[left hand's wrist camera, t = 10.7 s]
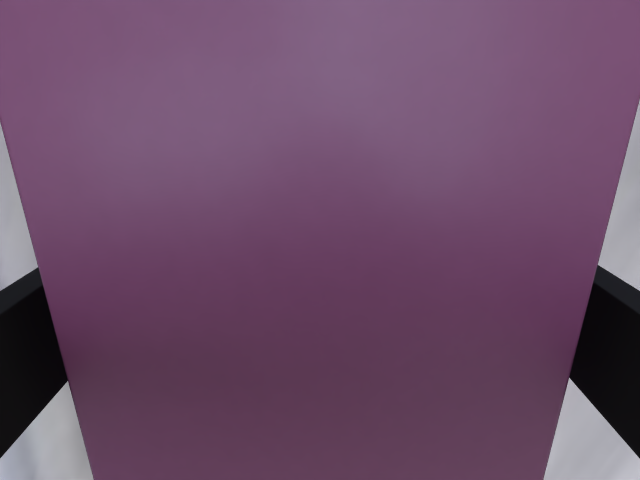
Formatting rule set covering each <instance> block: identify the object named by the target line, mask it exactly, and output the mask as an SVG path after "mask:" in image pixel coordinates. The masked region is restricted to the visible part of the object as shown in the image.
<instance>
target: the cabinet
mask: <svg viewBox="0 0 640 480" xmlns="http://www.w3.org/2000/svg"><path fill="white" fill-rule="evenodd" d="M639 99H640V0H0V122H1V126H2V130H3V133H4V137H5V141H6V145H7V149H8V153H9V156H10V160H11V164H12V168H13V172H14V176H15V179H16V183H17V187H18V191H19V195H20V199H21V202H22V206H23V210H24V214H25V218H26V221H27V225H28V229H29V233H30V237H31V241H32V244H33V248H34V252H35V256H36V260H37V264H38V267H39V271H40V275H41V279H42V283H43V287H44V290H45V294H46V298H47V302H48V306H49V310H50V313H51V317H52V321H53V325H54V329H55V333H56V336H57V340H58V344H59V348H60V352H61V355H62V359H63V363H64V367H65V371H66V375H67V378H68V382H69V386H70V390H71V394H72V398H73V401H74V405H75V409H76V413H77V417H78V421H79V424H80V428H81V432H82V436H83V440H84V444H85V447H86V451H87V455H88V459H89V463H90V467H91V470H92V474H93V478H94V480H543V478H544V474H545V470H546V466H547V462H548V458H549V454H550V450H551V447H552V443H553V439H554V435H555V431H556V427H557V423H558V419H559V415H560V411H561V407H562V403H563V399H564V395H565V391H566V387H567V383H568V379H569V376H570V372H571V368H572V364H573V360H574V356H575V352H576V348H577V344H578V340H579V336H580V332H581V328H582V324H583V320H584V316H585V312H586V308H587V305H588V301H589V297H590V293H591V289H592V285H593V281H594V277H595V273H596V269H597V265H598V261H599V257H600V253H601V249H602V245H603V241H604V237H605V233H606V230H607V226H608V222H609V218H610V214H611V210H612V206H613V202H614V198H615V194H616V190H617V186H618V182H619V178H620V174H621V170H622V166H623V162H624V159H625V155H626V151H627V147H628V143H629V139H630V135H631V131H632V127H633V123H634V119H635V115H636V111H637V107H638V103H639Z"/></svg>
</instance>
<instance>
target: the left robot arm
mask: <svg viewBox="0 0 640 480" xmlns="http://www.w3.org/2000/svg"><path fill="white" fill-rule="evenodd" d="M569 378H570V379H571V380H572V381H573V382H574V383H575V385H576V386H577V387H578V388H579V389H580V390H581V391H582V393H583V394H584V395H585V396H586V397H587V398H588V399H589V401H590V402H591V403H592V404H593V405H594V406H595V408H596V409H597V410H598V411H599V412H600V413H601V414H602V416H603V417H604V418H605V419H606V420H607V421H608V422H609V424H610V425H611V426H612V427H613V428H614V429H615V431H616V432H617V433H618V434H619V435H620V436H621V437H622V439H623V440H624V441H625V442H626V443H627V444H628V445H629V447H630V448H631V449H632V450H633V451H634V452H635V453H636V455H637V456H638V457H639V458H640V291H639V290H637V289H635V288H634V287H632V286H631V285H629V284H627V283H626V282H624V281H623V280H621V279H620V278H618V277H616V276H615V275H613V274H612V273H610V272H608V271H607V270H605V269H604V268H602V267H600V266H599V265H597V269H596V273H595V277H594V281H593V285H592V289H591V293H590V297H589V301H588V305H587V308H586V312H585V316H584V320H583V324H582V328H581V332H580V336H579V340H578V344H577V348H576V352H575V356H574V360H573V364H572V368H571V372H570V376H569ZM67 381H68V378H67V375H66V371H65V367H64V363H63V359H62V355H61V352H60V348H59V344H58V340H57V336H56V333H55V329H54V325H53V321H52V317H51V313H50V310H49V306H48V302H47V298H46V294H45V290H44V287H43V283H42V279H41V275H40V271H39V267H38V268H36V269H35V270H33V271H32V272H30V273H28V274H27V275H25V276H24V277H22V278H20V279H19V280H17V281H16V282H14V283H13V284H11V285H9V286H8V287H6V288H5V289H3V290H1V291H0V458H1V457H2V456H3V455H4V453H5V452H6V451H7V450H8V449H9V448H10V447H11V445H12V444H13V443H14V442H15V441H16V440H17V439H18V437H19V436H20V435H21V434H22V433H23V432H24V431H25V429H26V428H27V427H28V426H29V425H30V424H31V422H32V421H33V420H34V419H35V418H36V417H37V416H38V414H39V413H40V412H41V411H42V410H43V409H44V408H45V406H46V405H47V404H48V403H49V402H50V401H51V399H52V398H53V397H54V396H55V395H56V394H57V393H58V391H59V390H60V389H61V388H62V387H63V386H64V385H65V383H66V382H67Z"/></svg>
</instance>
